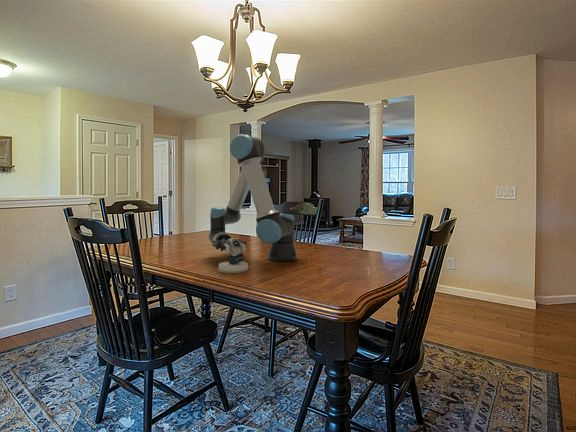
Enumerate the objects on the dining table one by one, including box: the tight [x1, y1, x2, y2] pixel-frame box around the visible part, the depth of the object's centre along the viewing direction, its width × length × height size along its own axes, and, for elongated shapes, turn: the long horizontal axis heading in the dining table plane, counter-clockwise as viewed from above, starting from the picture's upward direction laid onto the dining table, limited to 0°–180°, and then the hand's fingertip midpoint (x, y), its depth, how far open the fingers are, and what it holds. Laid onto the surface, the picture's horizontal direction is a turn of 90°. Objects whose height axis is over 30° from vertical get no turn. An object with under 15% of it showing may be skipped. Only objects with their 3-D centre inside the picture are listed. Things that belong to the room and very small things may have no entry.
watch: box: [226, 237, 245, 264], centre depth 163 cm, size 6×8×11 cm
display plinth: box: [218, 260, 249, 274], centre depth 164 cm, size 13×13×2 cm
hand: (236, 248), depth 158 cm, fingers open, 7 cm apart
